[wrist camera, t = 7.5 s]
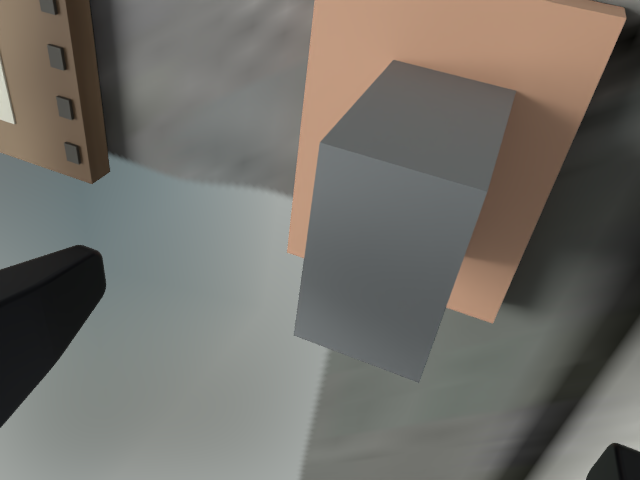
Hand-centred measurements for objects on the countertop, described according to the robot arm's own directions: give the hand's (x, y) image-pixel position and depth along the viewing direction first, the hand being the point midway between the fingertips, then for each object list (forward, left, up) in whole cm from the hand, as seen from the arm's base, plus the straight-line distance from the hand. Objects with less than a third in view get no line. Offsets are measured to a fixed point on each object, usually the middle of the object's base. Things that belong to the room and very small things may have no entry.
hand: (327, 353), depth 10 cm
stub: (0, 0, -8) cm, 8 cm away
